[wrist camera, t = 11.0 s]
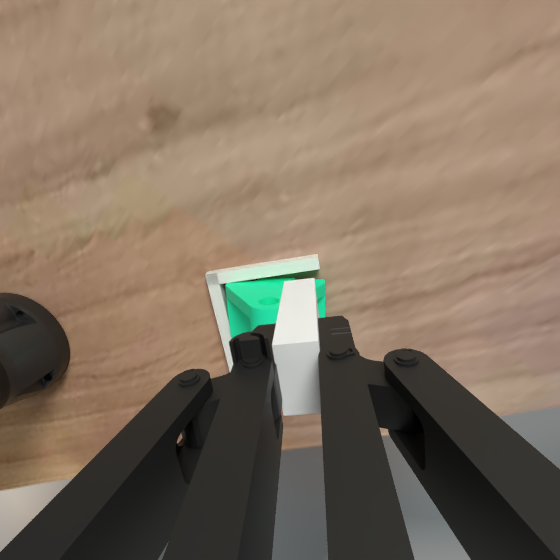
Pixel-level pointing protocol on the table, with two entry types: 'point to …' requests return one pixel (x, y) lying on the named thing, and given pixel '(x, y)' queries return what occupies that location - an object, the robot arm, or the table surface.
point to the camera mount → (260, 302)
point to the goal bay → (247, 273)
